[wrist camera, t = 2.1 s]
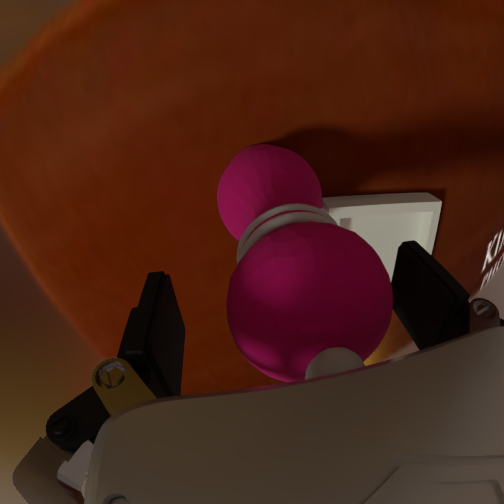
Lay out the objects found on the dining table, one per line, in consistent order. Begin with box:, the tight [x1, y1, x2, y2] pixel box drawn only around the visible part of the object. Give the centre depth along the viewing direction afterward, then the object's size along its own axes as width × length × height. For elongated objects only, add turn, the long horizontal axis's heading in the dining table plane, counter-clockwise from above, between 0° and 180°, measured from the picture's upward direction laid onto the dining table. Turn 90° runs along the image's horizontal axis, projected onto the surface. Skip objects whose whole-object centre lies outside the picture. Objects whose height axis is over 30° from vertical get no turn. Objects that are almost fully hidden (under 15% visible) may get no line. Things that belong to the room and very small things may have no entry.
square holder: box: [321, 192, 442, 281], centre depth 27 cm, size 12×12×2 cm
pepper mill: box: [217, 144, 394, 382], centre depth 15 cm, size 7×7×20 cm
